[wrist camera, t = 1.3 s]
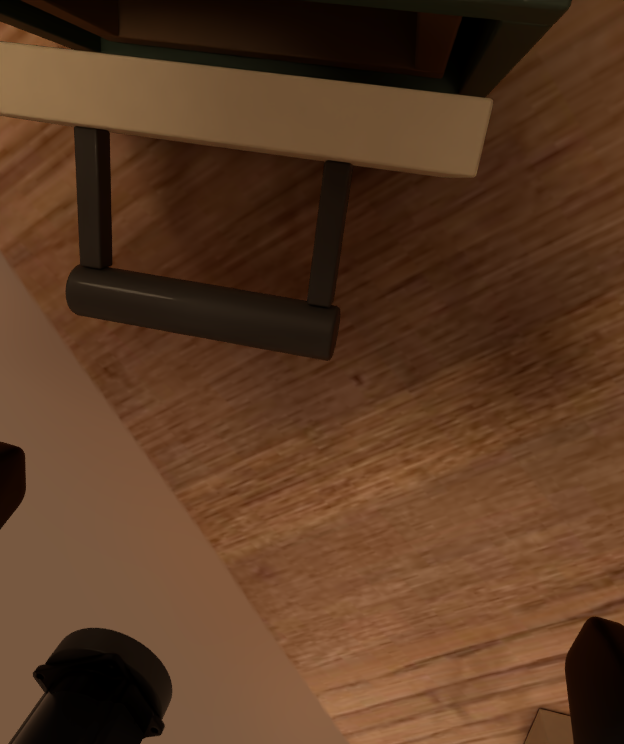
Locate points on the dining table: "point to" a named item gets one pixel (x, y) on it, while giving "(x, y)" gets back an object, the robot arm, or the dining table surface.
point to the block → (550, 729)
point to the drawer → (242, 135)
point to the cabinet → (462, 74)
